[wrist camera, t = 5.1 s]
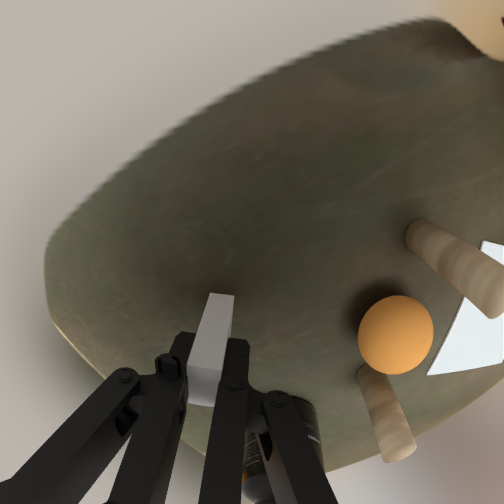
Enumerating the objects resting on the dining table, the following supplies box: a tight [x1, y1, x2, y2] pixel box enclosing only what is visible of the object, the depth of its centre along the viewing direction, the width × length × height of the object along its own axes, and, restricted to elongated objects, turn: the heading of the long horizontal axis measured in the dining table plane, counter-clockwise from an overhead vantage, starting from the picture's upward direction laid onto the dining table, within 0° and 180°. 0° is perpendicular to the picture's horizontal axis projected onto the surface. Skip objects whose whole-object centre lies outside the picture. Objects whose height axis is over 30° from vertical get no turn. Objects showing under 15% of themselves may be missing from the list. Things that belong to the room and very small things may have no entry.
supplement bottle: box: [242, 398, 325, 504], centre depth 18 cm, size 7×7×12 cm
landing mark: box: [426, 240, 504, 375], centre depth 19 cm, size 14×14×1 cm
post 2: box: [405, 219, 504, 319], centre depth 13 cm, size 2×2×9 cm
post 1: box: [356, 363, 417, 463], centre depth 17 cm, size 2×2×9 cm
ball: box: [358, 295, 433, 374], centre depth 17 cm, size 6×6×6 cm
